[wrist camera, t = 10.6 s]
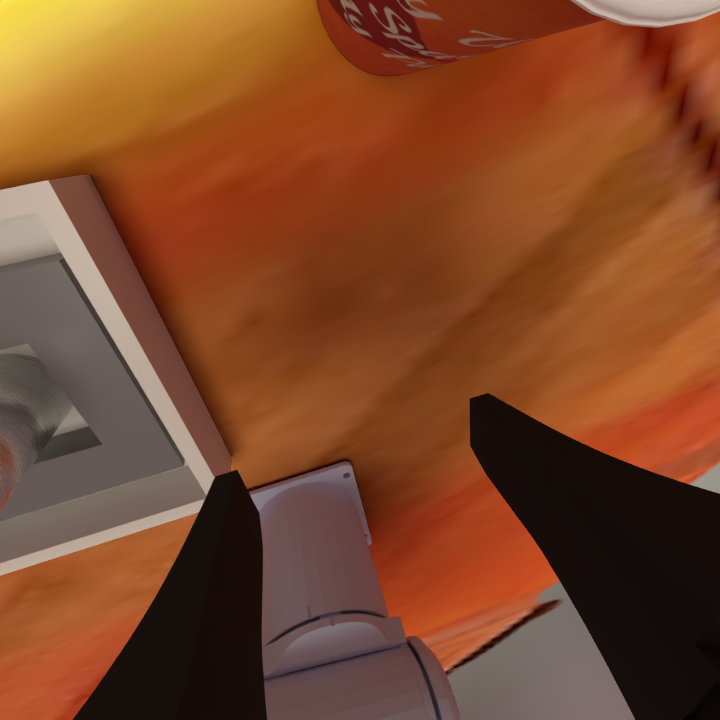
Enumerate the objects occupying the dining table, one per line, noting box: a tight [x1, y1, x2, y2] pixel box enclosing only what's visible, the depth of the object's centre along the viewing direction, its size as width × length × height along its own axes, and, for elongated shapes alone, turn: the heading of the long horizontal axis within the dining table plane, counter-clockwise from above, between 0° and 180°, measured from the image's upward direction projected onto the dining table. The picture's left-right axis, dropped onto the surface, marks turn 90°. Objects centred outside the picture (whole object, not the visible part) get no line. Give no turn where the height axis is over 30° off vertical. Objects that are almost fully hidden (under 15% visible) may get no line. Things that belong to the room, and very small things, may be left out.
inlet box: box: [0, 174, 232, 575], centre depth 17 cm, size 16×14×4 cm
